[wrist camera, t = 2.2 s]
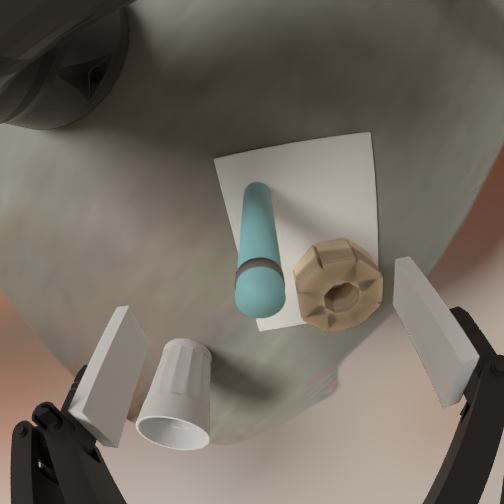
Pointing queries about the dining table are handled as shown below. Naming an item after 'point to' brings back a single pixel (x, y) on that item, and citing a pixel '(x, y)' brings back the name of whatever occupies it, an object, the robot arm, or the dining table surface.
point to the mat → (307, 200)
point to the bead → (333, 273)
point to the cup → (179, 398)
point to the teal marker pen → (259, 257)
